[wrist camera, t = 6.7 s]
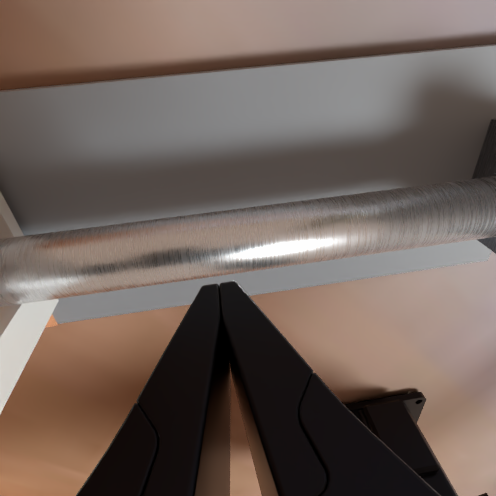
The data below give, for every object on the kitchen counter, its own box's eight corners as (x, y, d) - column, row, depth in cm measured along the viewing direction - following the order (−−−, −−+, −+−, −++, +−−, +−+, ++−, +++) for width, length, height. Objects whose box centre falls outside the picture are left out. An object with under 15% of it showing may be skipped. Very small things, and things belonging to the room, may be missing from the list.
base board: (564, 37, 11) (584, 37, 10) (478, 253, 16) (489, 261, 15) (-487, 136, 9) (-535, 143, 8) (-205, 352, 14) (-223, 366, 13)
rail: (518, 110, 12) (660, 144, 9) (480, 214, 15) (577, 274, 11) (-362, 209, 10) (-691, 311, 6) (-236, 311, 13) (-418, 428, 9)
